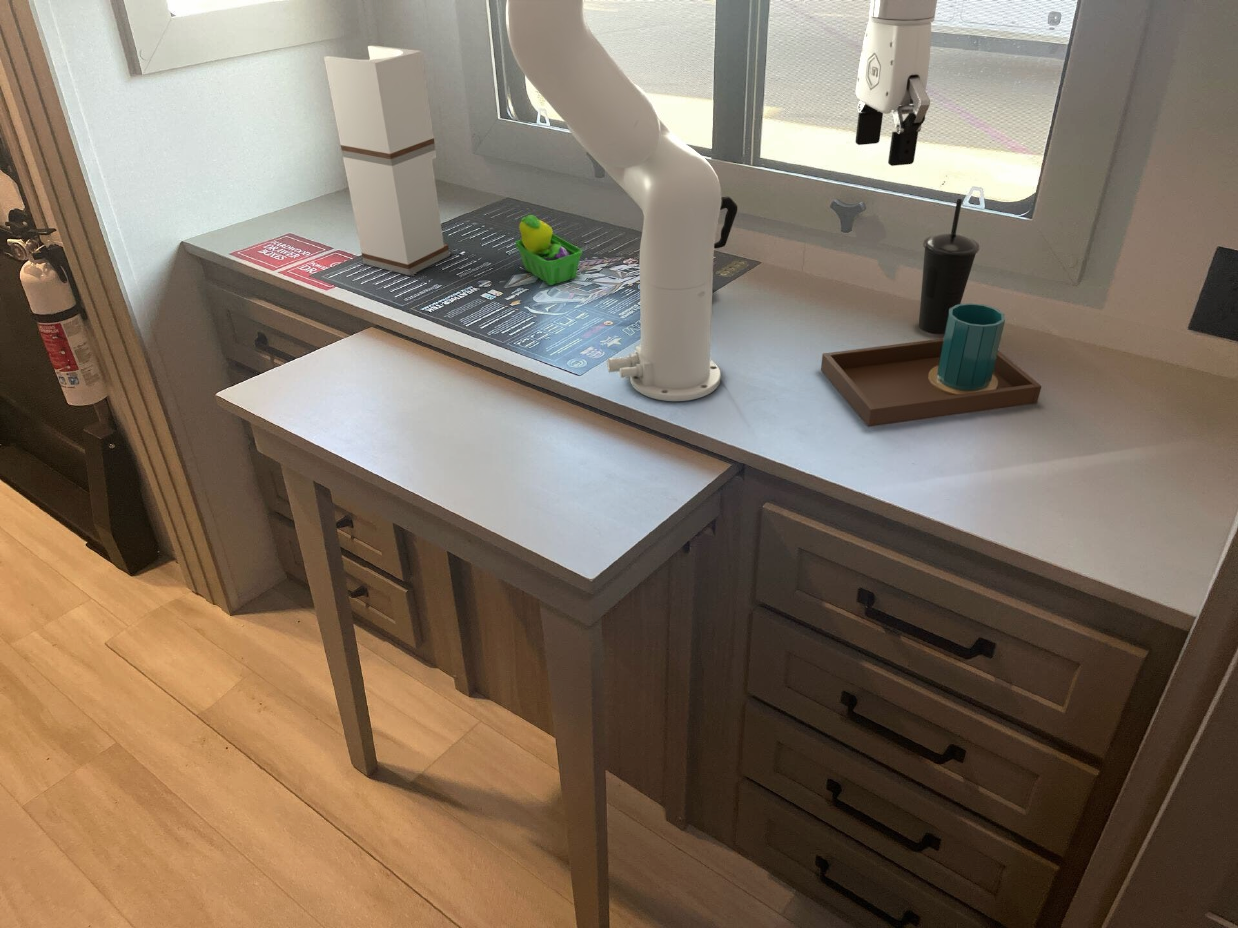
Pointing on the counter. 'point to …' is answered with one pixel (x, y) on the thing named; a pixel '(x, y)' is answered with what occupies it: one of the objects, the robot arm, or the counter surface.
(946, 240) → the drinking cup
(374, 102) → the striped cream pillar
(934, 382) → the coaster
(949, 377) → the cup
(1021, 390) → the tray
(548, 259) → the fruit basket
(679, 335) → the robot arm
